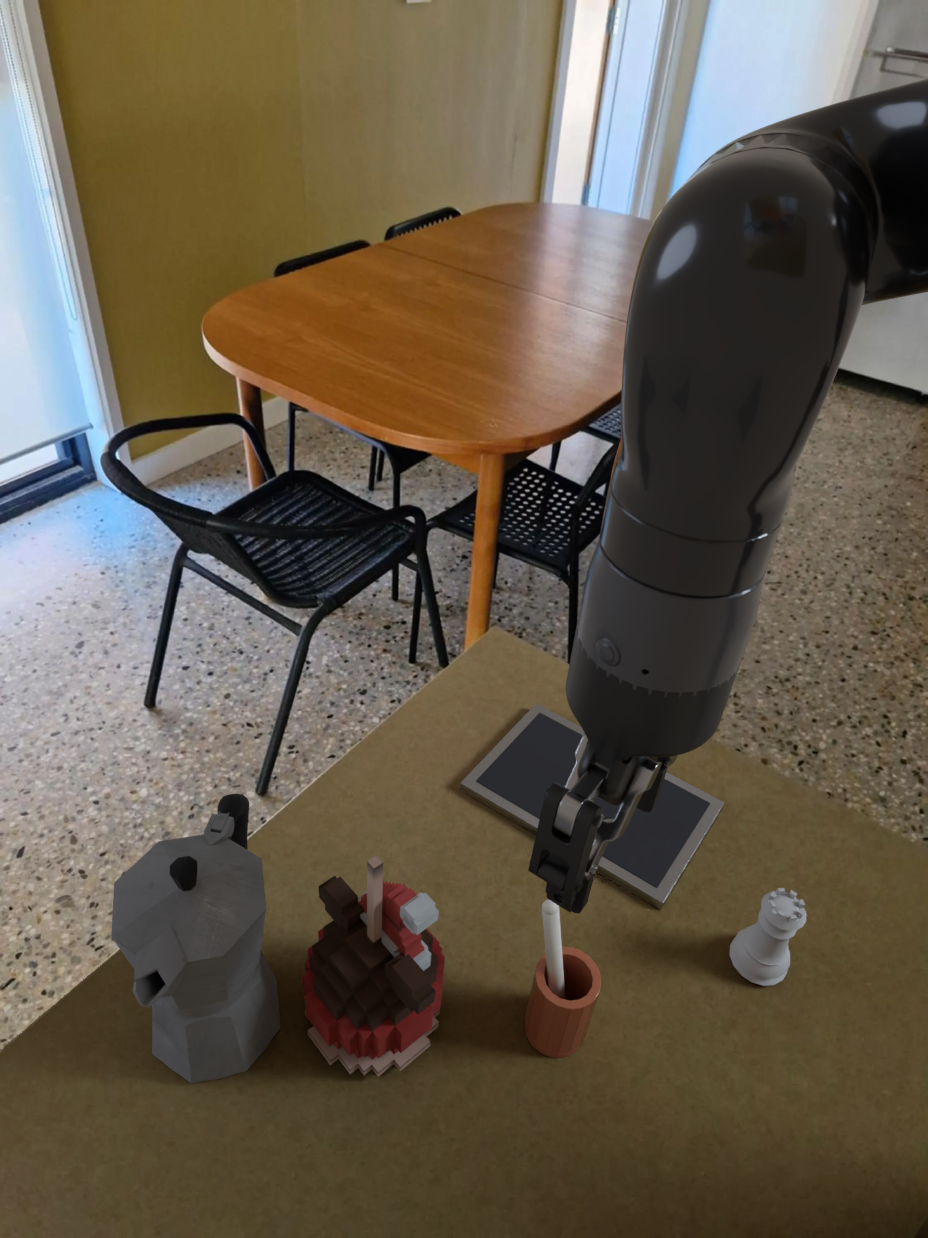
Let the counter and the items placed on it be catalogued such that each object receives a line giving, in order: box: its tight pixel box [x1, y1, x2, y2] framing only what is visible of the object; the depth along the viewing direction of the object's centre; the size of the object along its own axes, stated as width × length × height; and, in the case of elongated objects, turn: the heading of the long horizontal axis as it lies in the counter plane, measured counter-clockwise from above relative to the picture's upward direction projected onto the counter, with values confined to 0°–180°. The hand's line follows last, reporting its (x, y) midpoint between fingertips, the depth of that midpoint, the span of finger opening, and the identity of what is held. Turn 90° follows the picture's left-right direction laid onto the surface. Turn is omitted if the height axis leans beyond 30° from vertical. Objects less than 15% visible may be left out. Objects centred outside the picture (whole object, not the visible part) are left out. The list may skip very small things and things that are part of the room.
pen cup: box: [523, 945, 602, 1059], centre depth 62 cm, size 4×4×7 cm
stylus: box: [541, 898, 565, 999], centre depth 60 cm, size 1×1×13 cm
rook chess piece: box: [729, 887, 807, 987], centre depth 66 cm, size 4×4×8 cm
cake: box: [301, 855, 446, 1078], centre depth 58 cm, size 11×9×18 cm
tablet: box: [459, 703, 725, 910], centre depth 80 cm, size 20×13×1 cm, turn 55°
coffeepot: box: [110, 793, 282, 1084], centre depth 58 cm, size 15×9×18 cm, turn 172°
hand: (602, 848), depth 50 cm, fingers open, 8 cm apart
